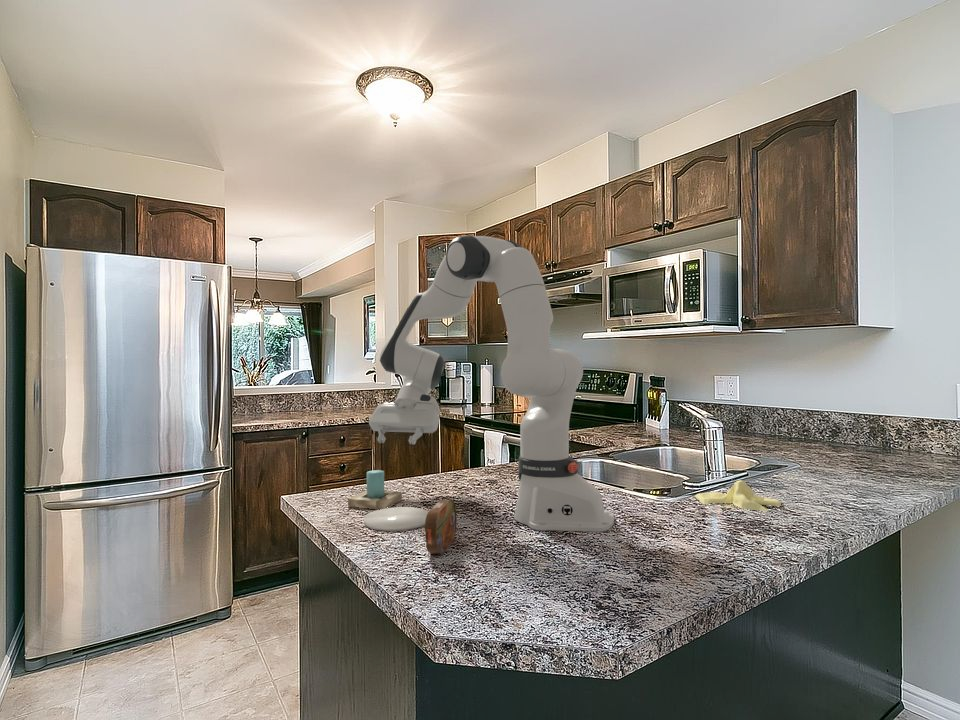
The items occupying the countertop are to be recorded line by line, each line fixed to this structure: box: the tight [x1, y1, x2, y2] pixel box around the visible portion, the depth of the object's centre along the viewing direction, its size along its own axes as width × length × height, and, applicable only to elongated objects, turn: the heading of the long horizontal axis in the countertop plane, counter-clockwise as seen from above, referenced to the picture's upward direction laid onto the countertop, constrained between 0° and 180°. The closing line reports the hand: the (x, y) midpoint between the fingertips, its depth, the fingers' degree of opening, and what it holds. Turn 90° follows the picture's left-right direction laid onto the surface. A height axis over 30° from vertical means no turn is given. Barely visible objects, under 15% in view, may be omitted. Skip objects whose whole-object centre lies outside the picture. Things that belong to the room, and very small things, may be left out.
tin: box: [424, 498, 458, 555], centre depth 109 cm, size 15×3×8 cm, turn 168°
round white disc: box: [363, 506, 429, 532], centre depth 126 cm, size 15×15×1 cm
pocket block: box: [347, 489, 403, 510], centre depth 141 cm, size 10×10×2 cm
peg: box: [366, 469, 385, 499], centre depth 141 cm, size 4×4×8 cm
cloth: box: [694, 480, 782, 511], centre depth 138 cm, size 22×19×6 cm
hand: (395, 442), depth 152 cm, fingers open, 8 cm apart
